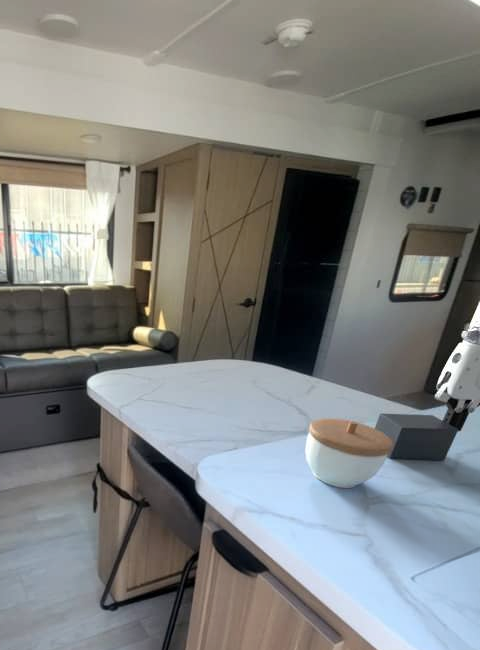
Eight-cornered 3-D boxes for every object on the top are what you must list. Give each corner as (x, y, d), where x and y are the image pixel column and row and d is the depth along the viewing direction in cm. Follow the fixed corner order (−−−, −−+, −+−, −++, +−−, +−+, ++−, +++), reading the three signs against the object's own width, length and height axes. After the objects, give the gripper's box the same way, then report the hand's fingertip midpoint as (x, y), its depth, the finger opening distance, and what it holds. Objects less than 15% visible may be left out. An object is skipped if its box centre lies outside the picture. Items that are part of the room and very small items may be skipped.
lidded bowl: (391, 490, 71) (416, 434, 66) (337, 502, 67) (360, 443, 62) (331, 456, 81) (349, 405, 77) (282, 464, 77) (297, 411, 72)
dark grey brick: (420, 444, 88) (432, 415, 85) (444, 460, 82) (458, 429, 79) (369, 442, 88) (379, 413, 85) (389, 458, 82) (402, 427, 79)
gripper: (467, 341, 71) (426, 435, 79) (552, 344, 71) (503, 438, 79) (435, 332, 78) (401, 419, 86) (513, 335, 78) (472, 422, 86)
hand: (450, 428), depth 82 cm, fingers closed
